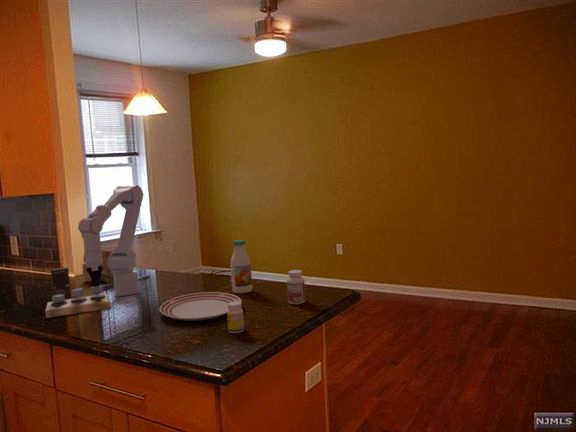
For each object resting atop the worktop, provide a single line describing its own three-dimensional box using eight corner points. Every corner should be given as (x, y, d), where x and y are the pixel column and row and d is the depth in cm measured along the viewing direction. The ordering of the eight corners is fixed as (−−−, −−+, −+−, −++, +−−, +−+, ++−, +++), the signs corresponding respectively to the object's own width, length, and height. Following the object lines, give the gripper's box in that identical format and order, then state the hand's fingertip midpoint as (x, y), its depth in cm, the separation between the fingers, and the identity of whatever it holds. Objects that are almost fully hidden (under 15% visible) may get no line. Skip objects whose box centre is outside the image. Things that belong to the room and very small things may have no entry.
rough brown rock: (141, 281, 213) (140, 248, 212) (106, 287, 200) (105, 251, 199) (113, 277, 227) (112, 246, 227) (79, 282, 214) (78, 249, 214)
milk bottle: (228, 293, 182) (225, 242, 180) (238, 287, 189) (235, 238, 187) (246, 294, 179) (243, 242, 177) (255, 289, 186) (252, 238, 184)
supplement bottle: (228, 328, 143) (226, 301, 142) (244, 327, 143) (242, 300, 142) (228, 334, 138) (226, 306, 137) (244, 332, 138) (242, 304, 137)
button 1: (65, 299, 173) (64, 293, 173) (64, 301, 169) (64, 296, 169) (53, 300, 171) (52, 295, 171) (52, 303, 168) (51, 298, 168)
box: (54, 300, 185) (51, 270, 183) (53, 298, 188) (50, 268, 187) (71, 297, 188) (68, 268, 187) (69, 295, 192) (66, 266, 190)
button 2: (102, 290, 178) (102, 285, 178) (103, 292, 174) (102, 287, 174) (91, 292, 176) (90, 286, 176) (91, 294, 173) (90, 289, 172)
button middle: (84, 293, 175) (83, 287, 175) (84, 295, 172) (83, 290, 171) (72, 294, 174) (71, 289, 174) (72, 297, 170) (71, 292, 170)
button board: (109, 299, 182) (108, 292, 182) (110, 307, 171) (110, 299, 171) (48, 308, 174) (47, 300, 173) (46, 318, 163) (45, 309, 162)
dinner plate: (258, 309, 161) (257, 299, 160) (190, 332, 141) (189, 322, 141) (210, 296, 180) (209, 287, 180) (144, 315, 161) (143, 306, 160)
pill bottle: (296, 298, 170) (295, 268, 169) (309, 301, 166) (307, 270, 164) (284, 302, 166) (282, 271, 165) (296, 306, 161) (295, 274, 160)
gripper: (81, 248, 179) (84, 283, 180) (80, 254, 165) (84, 292, 167) (101, 246, 181) (104, 280, 183) (102, 252, 168) (106, 289, 170)
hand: (96, 286), depth 175 cm, fingers closed
